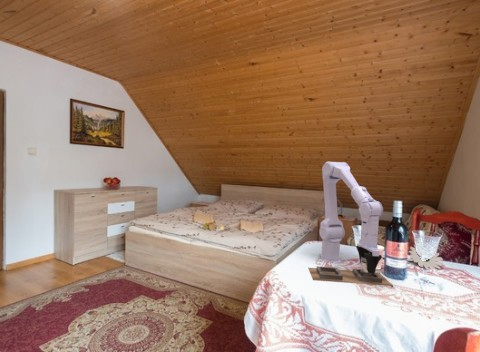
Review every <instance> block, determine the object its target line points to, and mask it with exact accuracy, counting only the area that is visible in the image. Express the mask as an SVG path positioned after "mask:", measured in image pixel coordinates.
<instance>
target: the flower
mask: <svg viewBox="0 0 480 352" xmlns="http://www.w3.org/2000/svg"><path fill="white" fill-rule="evenodd" d="M415 245H416V244H413V246H414V247H413V246H410V247H409V248H410V250H408V253H410V254H409V257H410V258H411V259H413V260H407V261H408V262H409V263H417V264H418V266H419V267H421V268H423V267H424V268H425V269H426V270H429V268H430V270H434V269H435V270H434V271H436V270H437V269H441V267H443V266H444V263H443V261H444V259H443V258H442V257H441V256H440V253H439V252H436V255H435V256H434V257H433V258H431V259H428V260H426V261H422V260H421V258H420V257H419V256H418V255H417V253H416V250H415ZM384 258H385V257H384V256H383V257H382V260H385V259H384ZM408 262H407V263H408Z"/></svg>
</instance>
